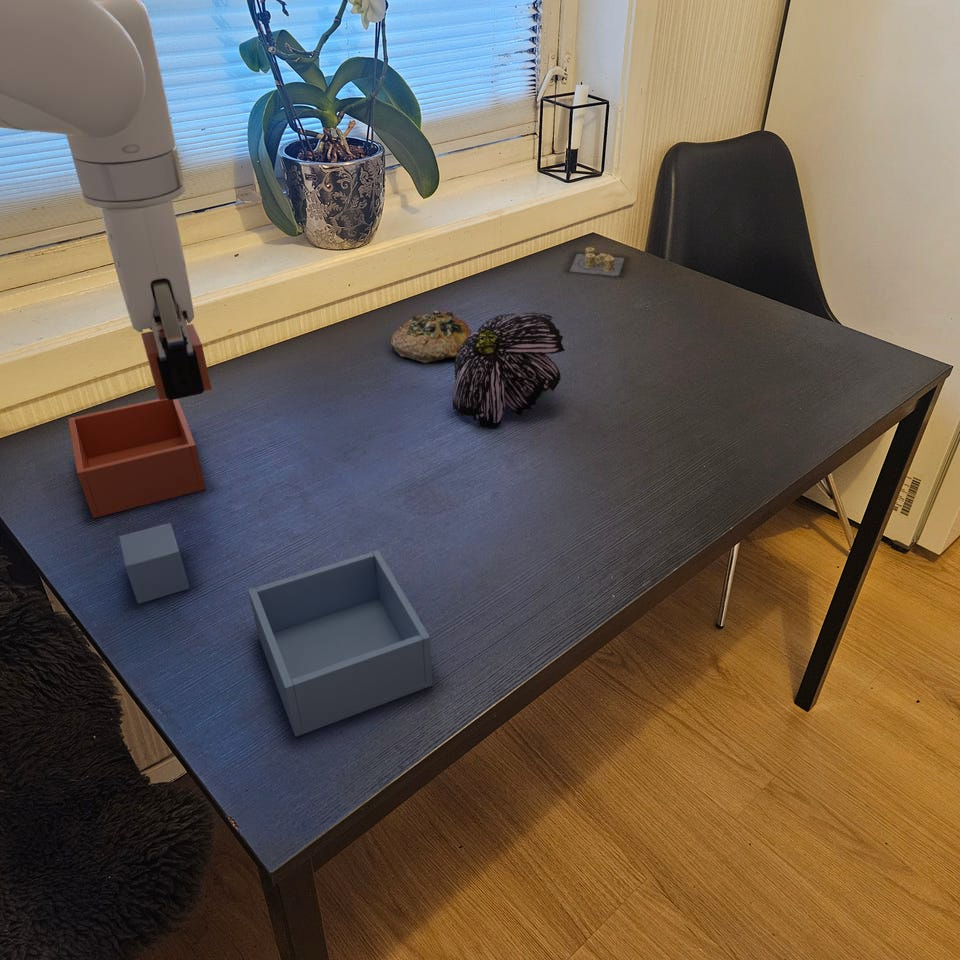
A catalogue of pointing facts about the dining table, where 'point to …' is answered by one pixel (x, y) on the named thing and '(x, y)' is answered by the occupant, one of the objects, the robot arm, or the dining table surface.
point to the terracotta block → (153, 353)
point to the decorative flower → (506, 366)
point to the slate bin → (340, 640)
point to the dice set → (597, 263)
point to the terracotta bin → (135, 456)
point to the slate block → (153, 563)
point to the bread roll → (430, 337)
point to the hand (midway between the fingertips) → (180, 380)
